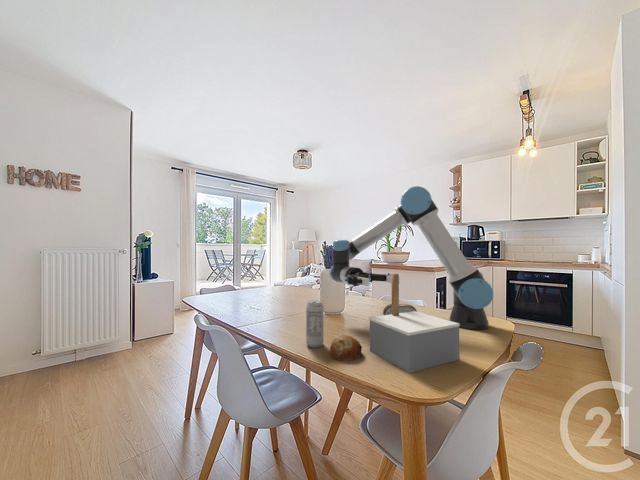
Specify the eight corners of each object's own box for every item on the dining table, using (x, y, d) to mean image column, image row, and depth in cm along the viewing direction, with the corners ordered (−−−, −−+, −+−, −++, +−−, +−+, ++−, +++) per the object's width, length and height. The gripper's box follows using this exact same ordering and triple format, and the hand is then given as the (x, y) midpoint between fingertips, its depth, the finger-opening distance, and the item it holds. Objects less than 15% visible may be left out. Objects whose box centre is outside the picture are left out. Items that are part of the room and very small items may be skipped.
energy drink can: (325, 342, 100) (325, 300, 100) (320, 348, 94) (320, 304, 94) (309, 341, 101) (309, 299, 102) (303, 347, 95) (303, 303, 96)
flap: (414, 313, 101) (414, 272, 102) (459, 326, 85) (458, 277, 85) (368, 319, 92) (368, 275, 93) (408, 335, 76) (408, 281, 76)
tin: (417, 323, 126) (416, 304, 126) (418, 324, 123) (418, 305, 123) (383, 322, 127) (382, 303, 127) (383, 324, 124) (383, 305, 124)
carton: (415, 341, 101) (415, 313, 101) (459, 359, 85) (459, 326, 85) (369, 350, 92) (369, 320, 92) (409, 372, 76) (409, 335, 76)
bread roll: (335, 359, 94) (324, 337, 94) (362, 346, 94) (352, 325, 94) (335, 372, 84) (324, 348, 84) (366, 358, 84) (355, 334, 84)
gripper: (376, 283, 125) (410, 289, 106) (326, 286, 114) (354, 294, 95) (376, 266, 125) (410, 269, 106) (326, 268, 114) (354, 272, 95)
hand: (384, 281), depth 101 cm, fingers open, 13 cm apart
